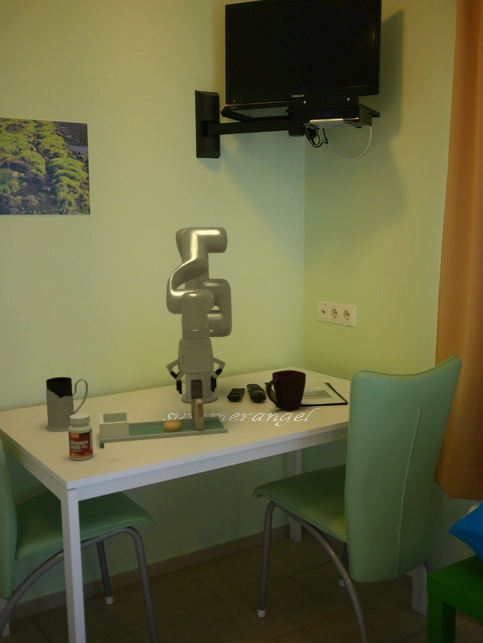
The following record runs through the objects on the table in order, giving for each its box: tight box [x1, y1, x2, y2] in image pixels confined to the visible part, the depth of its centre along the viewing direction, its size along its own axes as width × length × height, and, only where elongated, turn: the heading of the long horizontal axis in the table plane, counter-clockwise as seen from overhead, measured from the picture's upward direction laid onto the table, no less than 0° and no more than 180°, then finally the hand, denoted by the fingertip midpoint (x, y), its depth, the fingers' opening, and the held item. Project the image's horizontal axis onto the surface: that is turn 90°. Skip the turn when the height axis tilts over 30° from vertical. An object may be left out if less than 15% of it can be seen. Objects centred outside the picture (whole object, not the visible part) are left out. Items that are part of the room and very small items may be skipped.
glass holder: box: [45, 376, 89, 433], centre depth 204 cm, size 9×14×15 cm, turn 136°
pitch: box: [98, 410, 229, 449], centre depth 193 cm, size 14×36×6 cm, turn 103°
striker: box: [190, 379, 204, 431], centre depth 195 cm, size 14×3×14 cm, turn 13°
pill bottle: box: [67, 412, 94, 461], centre depth 176 cm, size 6×6×11 cm
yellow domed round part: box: [164, 419, 181, 432], centre depth 194 cm, size 5×5×2 cm
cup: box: [265, 369, 307, 412], centre depth 218 cm, size 10×14×12 cm
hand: (196, 392), depth 194 cm, fingers open, 9 cm apart
